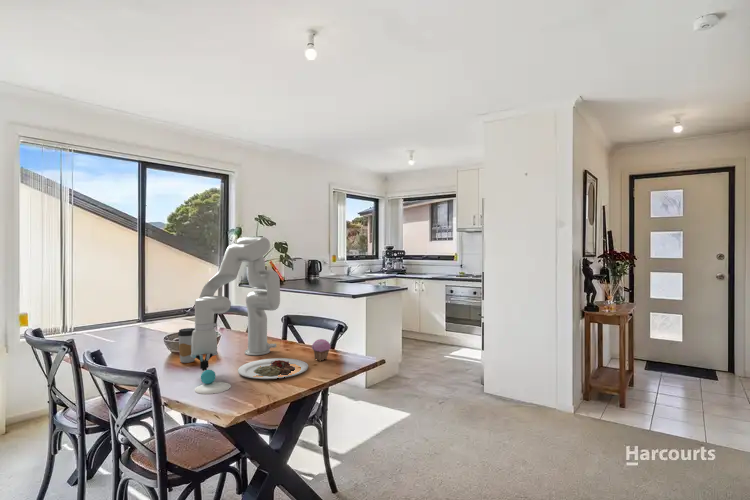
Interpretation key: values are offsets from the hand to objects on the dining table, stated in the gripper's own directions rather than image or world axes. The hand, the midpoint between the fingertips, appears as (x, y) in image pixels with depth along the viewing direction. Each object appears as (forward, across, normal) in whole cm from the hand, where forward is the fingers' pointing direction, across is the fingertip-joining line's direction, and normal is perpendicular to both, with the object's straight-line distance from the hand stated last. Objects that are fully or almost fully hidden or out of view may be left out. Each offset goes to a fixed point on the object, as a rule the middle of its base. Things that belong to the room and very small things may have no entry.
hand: (204, 369), depth 180 cm
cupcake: (+2, -52, +5) cm, 52 cm away
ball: (-1, +1, +16) cm, 16 cm away
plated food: (+2, -27, +11) cm, 29 cm away
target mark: (+2, 0, +22) cm, 22 cm away
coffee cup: (+2, +4, -24) cm, 24 cm away
